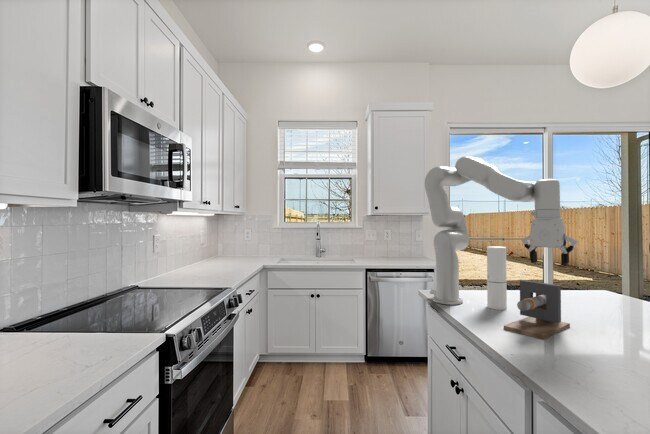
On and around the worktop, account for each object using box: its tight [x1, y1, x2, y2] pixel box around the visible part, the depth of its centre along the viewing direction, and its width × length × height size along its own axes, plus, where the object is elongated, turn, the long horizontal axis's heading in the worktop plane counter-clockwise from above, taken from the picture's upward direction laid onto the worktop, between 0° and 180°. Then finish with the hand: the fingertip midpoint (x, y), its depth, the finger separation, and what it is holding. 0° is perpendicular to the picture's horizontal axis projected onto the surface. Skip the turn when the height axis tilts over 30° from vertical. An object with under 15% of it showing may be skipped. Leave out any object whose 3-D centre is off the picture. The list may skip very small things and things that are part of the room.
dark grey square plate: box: [519, 279, 562, 323], centre depth 118 cm, size 12×2×12 cm, turn 35°
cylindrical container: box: [486, 245, 508, 311], centre depth 143 cm, size 7×7×25 cm
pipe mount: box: [503, 293, 571, 340], centre depth 117 cm, size 12×20×12 cm, turn 125°
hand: (548, 263), depth 121 cm, fingers open, 9 cm apart
